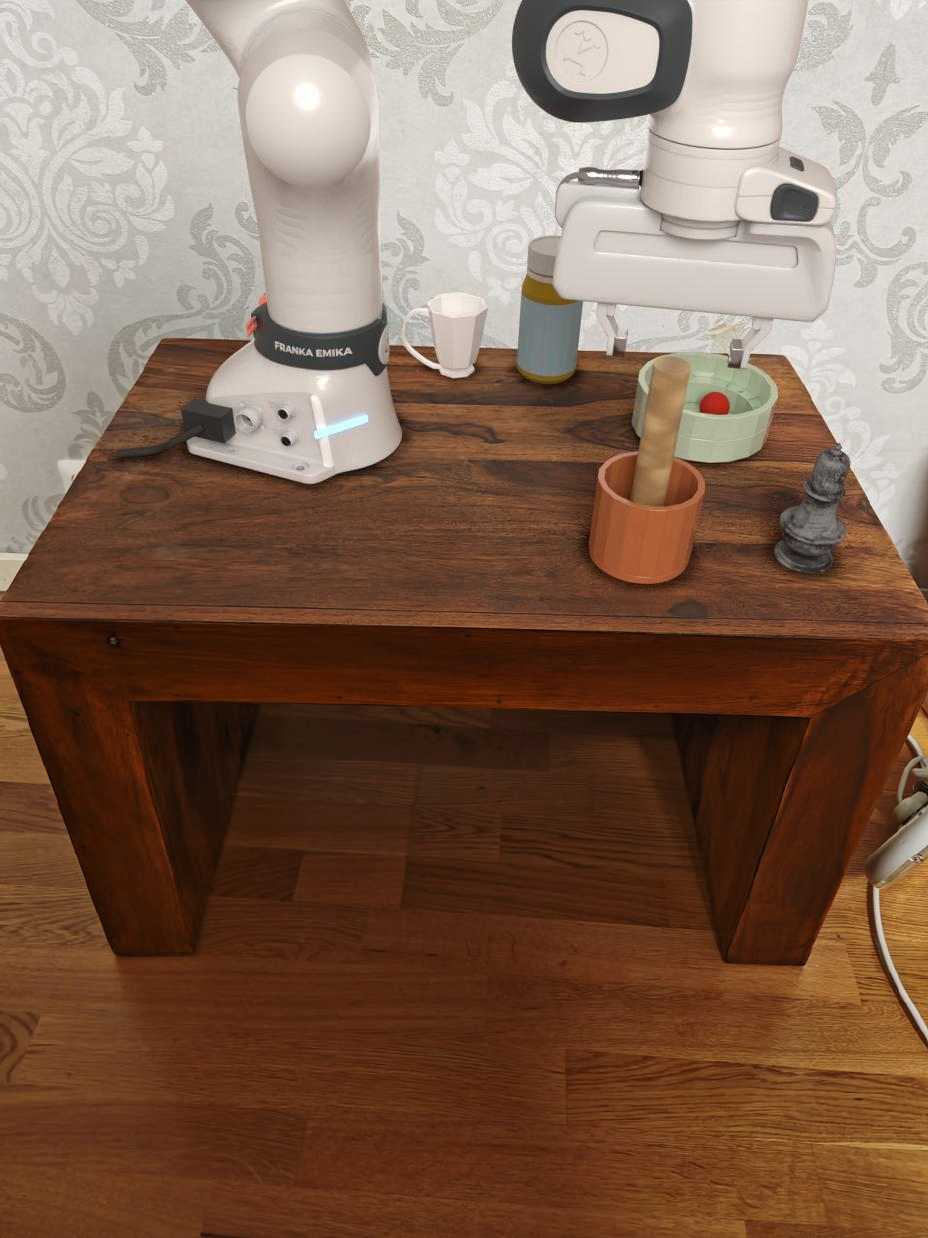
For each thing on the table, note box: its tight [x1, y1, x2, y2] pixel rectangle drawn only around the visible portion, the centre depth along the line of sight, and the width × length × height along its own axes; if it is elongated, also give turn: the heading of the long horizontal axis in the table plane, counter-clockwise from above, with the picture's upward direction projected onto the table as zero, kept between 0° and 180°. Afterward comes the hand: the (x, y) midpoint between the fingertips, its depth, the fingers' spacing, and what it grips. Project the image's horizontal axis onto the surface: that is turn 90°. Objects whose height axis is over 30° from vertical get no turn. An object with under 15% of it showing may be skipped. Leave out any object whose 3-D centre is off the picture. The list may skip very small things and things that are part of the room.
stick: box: [630, 356, 691, 507], centre depth 83 cm, size 3×3×18 cm
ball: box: [699, 392, 730, 415], centre depth 105 cm, size 3×3×3 cm
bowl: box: [631, 351, 779, 464], centre depth 104 cm, size 14×14×6 cm
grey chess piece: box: [773, 442, 852, 574], centre depth 86 cm, size 6×6×12 cm
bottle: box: [516, 235, 584, 385], centre depth 110 cm, size 7×7×15 cm
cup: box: [400, 291, 489, 379], centre depth 113 cm, size 7×10×8 cm
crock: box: [587, 450, 706, 585], centre depth 87 cm, size 9×9×8 cm
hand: (675, 359), depth 76 cm, fingers open, 8 cm apart
